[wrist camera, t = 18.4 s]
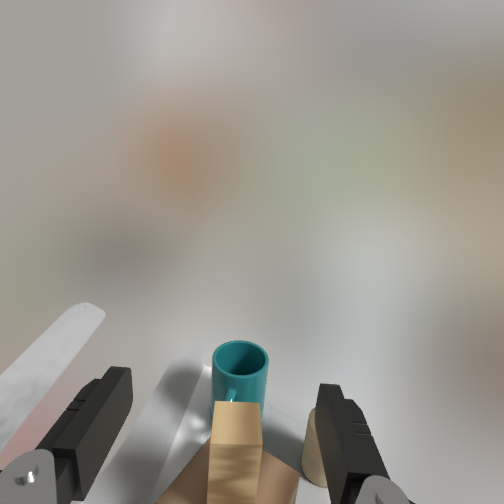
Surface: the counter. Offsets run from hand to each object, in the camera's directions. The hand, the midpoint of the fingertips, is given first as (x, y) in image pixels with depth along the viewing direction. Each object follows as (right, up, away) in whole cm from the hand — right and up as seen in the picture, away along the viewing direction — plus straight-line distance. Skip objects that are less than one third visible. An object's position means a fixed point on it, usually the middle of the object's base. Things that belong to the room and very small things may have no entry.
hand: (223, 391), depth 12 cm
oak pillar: (-1, -21, +20) cm, 29 cm away
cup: (-2, -22, +36) cm, 42 cm away
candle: (+11, -25, +29) cm, 40 cm away
